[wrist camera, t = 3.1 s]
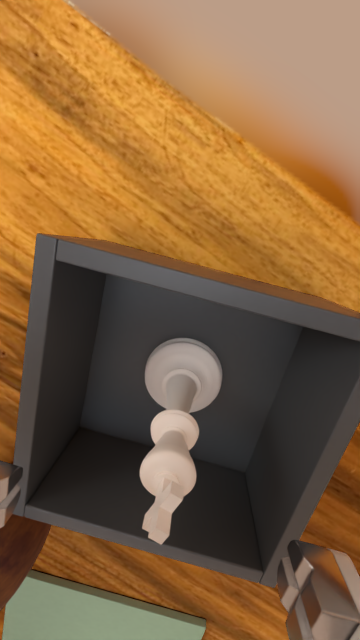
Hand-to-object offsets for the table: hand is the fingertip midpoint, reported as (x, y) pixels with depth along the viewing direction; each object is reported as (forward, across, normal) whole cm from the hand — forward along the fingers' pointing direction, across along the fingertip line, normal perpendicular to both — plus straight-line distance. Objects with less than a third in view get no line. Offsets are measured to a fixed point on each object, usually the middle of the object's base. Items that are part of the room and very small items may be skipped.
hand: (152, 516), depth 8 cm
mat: (+10, +1, +31) cm, 33 cm away
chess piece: (+10, 0, 0) cm, 10 cm away
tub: (+10, 0, 0) cm, 10 cm away
